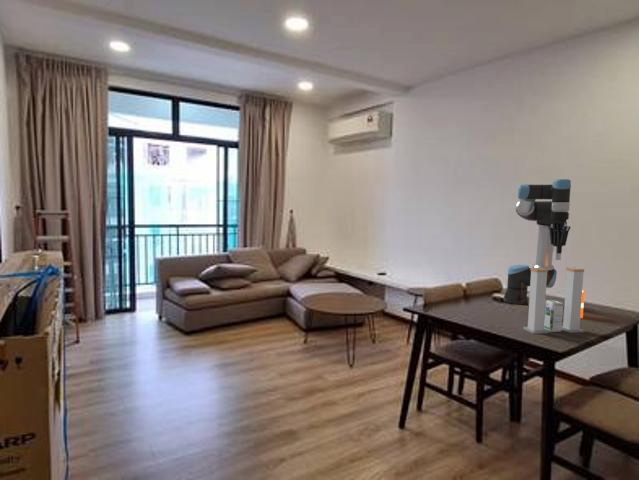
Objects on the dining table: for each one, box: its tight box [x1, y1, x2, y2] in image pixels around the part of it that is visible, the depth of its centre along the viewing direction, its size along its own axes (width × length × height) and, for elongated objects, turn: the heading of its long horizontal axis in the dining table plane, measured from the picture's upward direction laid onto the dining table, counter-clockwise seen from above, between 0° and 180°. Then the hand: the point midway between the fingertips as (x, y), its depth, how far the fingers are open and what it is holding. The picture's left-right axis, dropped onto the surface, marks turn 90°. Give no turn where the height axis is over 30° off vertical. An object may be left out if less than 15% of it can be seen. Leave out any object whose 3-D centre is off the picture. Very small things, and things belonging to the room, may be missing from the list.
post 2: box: [561, 267, 585, 334], centre depth 208 cm, size 8×8×31 cm
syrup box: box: [544, 299, 564, 333], centre depth 208 cm, size 6×6×14 cm
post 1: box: [522, 267, 549, 335], centre depth 206 cm, size 8×8×31 cm
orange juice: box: [580, 288, 585, 319], centre depth 235 cm, size 8×9×20 cm
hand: (557, 259), depth 206 cm, fingers closed
